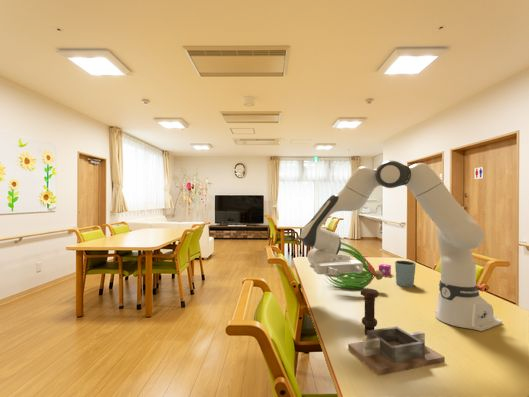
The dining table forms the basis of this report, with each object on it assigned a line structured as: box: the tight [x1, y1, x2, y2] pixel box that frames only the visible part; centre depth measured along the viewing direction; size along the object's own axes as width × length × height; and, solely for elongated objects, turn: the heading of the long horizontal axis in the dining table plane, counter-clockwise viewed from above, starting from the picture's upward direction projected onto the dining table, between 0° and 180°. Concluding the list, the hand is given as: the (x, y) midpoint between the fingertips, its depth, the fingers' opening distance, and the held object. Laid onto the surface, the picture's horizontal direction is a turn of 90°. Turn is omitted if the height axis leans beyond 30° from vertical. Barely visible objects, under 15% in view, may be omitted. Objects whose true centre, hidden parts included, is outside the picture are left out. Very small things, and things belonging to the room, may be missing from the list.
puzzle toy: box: [378, 263, 392, 277], centre depth 179 cm, size 6×6×6 cm
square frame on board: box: [347, 326, 446, 376], centre depth 86 cm, size 22×14×6 cm, turn 107°
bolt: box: [360, 287, 380, 337], centre depth 98 cm, size 6×5×15 cm
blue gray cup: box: [394, 260, 417, 288], centre depth 158 cm, size 10×10×12 cm
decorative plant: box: [325, 242, 384, 290], centre depth 151 cm, size 26×25×30 cm
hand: (348, 271), depth 110 cm, fingers open, 8 cm apart
